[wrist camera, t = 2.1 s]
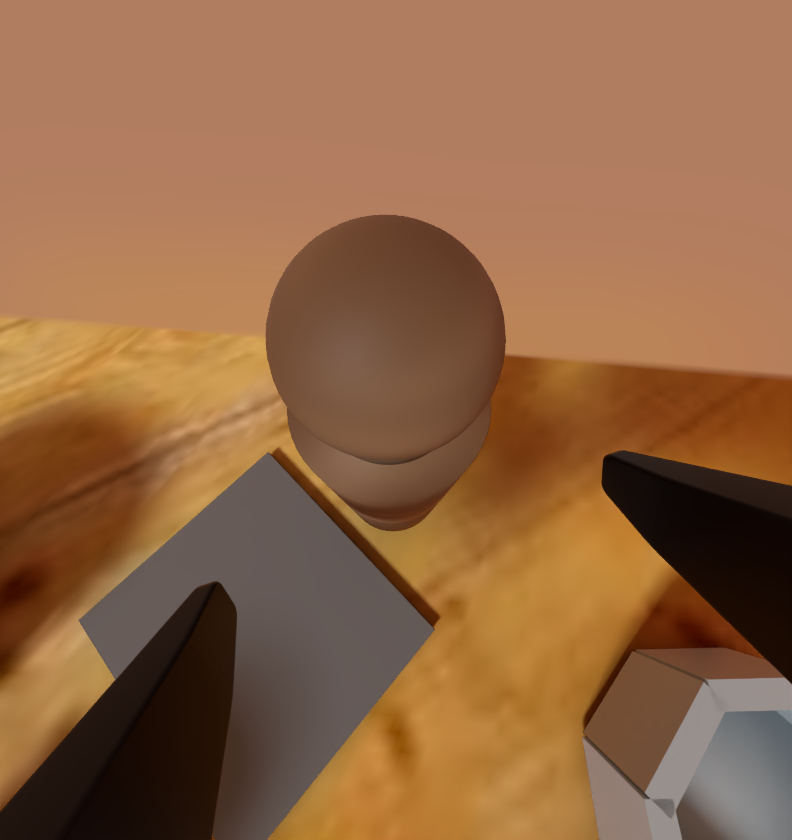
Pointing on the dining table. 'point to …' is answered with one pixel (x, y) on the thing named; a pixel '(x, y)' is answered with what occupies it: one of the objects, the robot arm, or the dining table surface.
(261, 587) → the mat
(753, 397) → the dining table surface
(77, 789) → the robot arm
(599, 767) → the bowl
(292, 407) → the pepper mill
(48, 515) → the dining table surface
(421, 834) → the dining table surface
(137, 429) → the dining table surface
